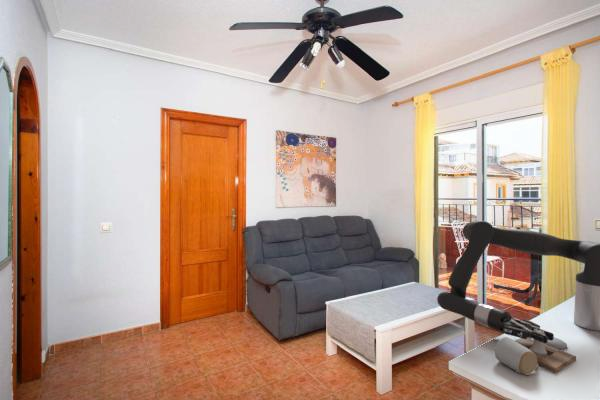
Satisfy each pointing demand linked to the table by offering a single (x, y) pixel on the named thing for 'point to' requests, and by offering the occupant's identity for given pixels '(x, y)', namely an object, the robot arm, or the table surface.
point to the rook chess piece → (538, 345)
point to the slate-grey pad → (557, 344)
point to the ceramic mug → (515, 356)
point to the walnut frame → (550, 356)
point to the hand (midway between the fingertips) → (549, 338)
